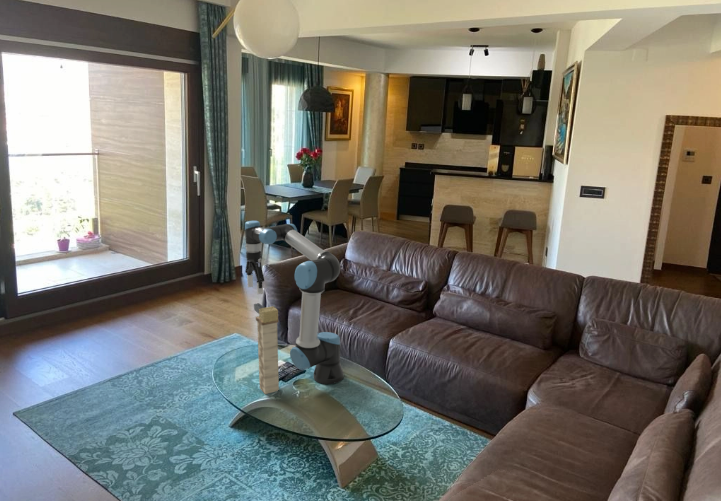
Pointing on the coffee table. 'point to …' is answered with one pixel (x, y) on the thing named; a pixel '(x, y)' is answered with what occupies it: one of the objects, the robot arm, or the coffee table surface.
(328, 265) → the robot arm
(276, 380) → the pedestal
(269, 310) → the bar
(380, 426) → the coffee table surface
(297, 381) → the coffee table surface
